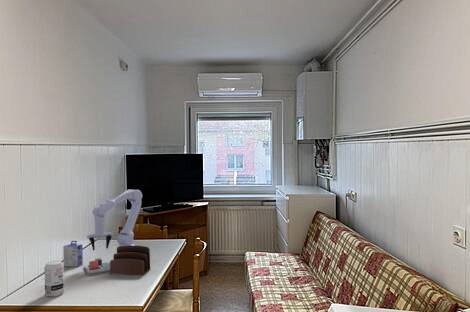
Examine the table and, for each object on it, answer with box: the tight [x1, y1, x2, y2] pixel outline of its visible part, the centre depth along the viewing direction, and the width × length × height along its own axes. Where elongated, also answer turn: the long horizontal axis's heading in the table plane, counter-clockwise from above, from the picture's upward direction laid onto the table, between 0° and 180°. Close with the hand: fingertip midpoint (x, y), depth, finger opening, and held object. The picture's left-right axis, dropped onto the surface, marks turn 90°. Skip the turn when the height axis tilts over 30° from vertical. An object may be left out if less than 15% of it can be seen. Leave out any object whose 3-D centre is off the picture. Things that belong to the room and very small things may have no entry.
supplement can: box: [43, 260, 65, 297], centre depth 186 cm, size 8×8×15 cm
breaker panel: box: [83, 262, 110, 277], centre depth 224 cm, size 13×17×2 cm
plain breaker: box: [94, 257, 103, 265], centre depth 230 cm, size 3×4×3 cm
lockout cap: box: [91, 260, 98, 270], centre depth 219 cm, size 4×4×5 cm
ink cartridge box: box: [62, 240, 84, 268], centre depth 234 cm, size 10×6×14 cm, turn 78°
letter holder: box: [109, 244, 151, 276], centre depth 220 cm, size 10×20×14 cm, turn 82°
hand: (100, 249), depth 232 cm, fingers open, 7 cm apart
